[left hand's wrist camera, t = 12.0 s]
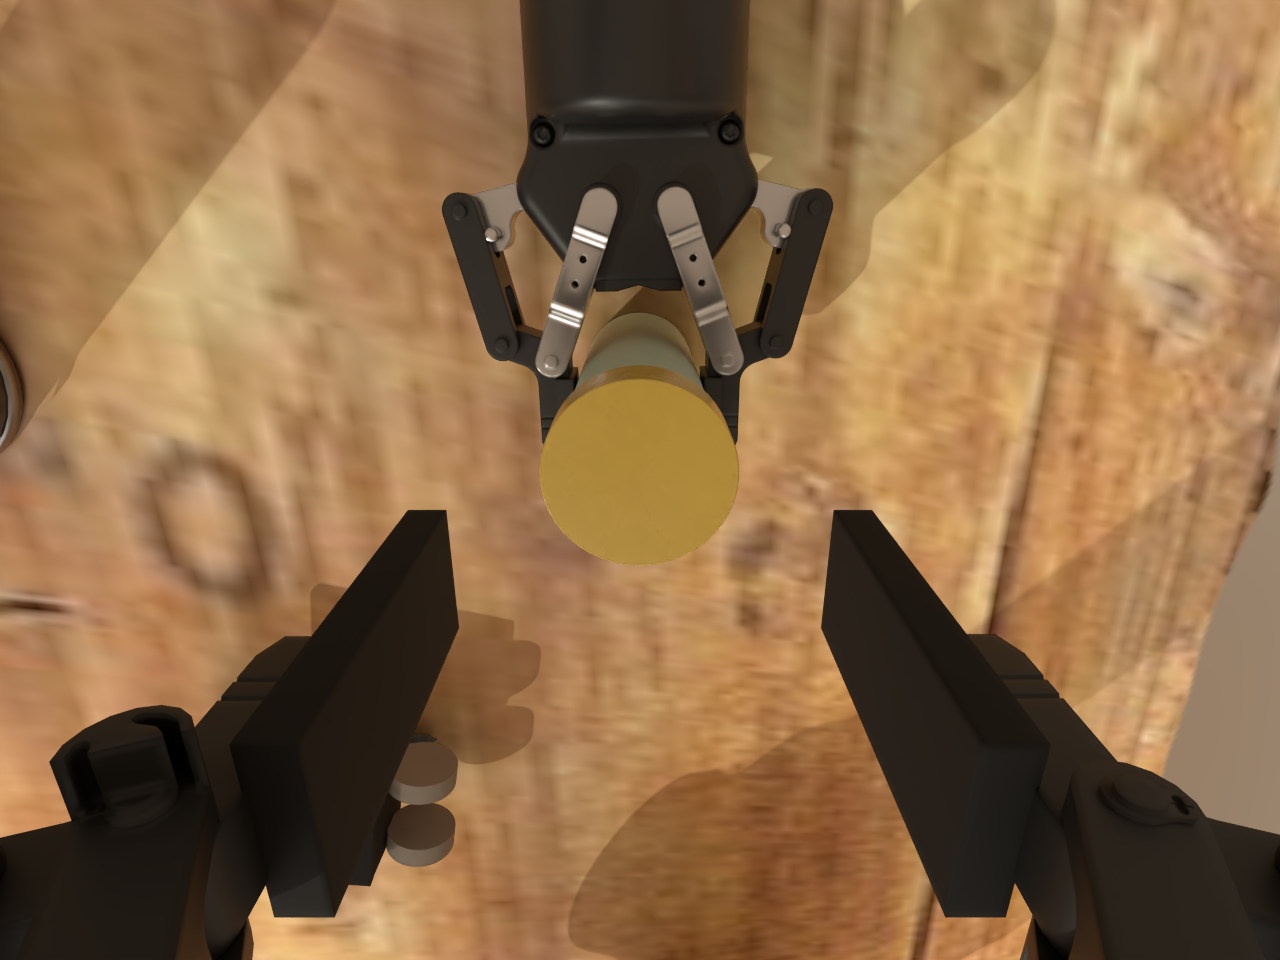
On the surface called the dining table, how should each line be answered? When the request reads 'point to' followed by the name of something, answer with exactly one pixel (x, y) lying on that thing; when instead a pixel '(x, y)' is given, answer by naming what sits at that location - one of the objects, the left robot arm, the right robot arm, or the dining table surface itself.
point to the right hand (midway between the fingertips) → (640, 459)
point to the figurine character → (413, 811)
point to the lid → (639, 466)
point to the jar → (639, 347)
